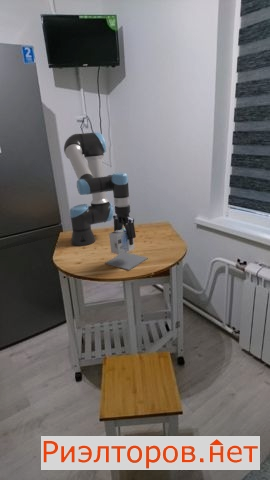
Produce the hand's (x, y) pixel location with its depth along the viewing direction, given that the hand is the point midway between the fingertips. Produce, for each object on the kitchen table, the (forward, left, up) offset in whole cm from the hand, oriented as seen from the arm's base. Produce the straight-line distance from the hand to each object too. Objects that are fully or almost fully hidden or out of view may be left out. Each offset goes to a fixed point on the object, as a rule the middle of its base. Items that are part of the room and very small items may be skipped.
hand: (125, 248), depth 146 cm
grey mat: (0, 0, -7) cm, 7 cm away
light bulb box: (-1, -7, +5) cm, 9 cm away
